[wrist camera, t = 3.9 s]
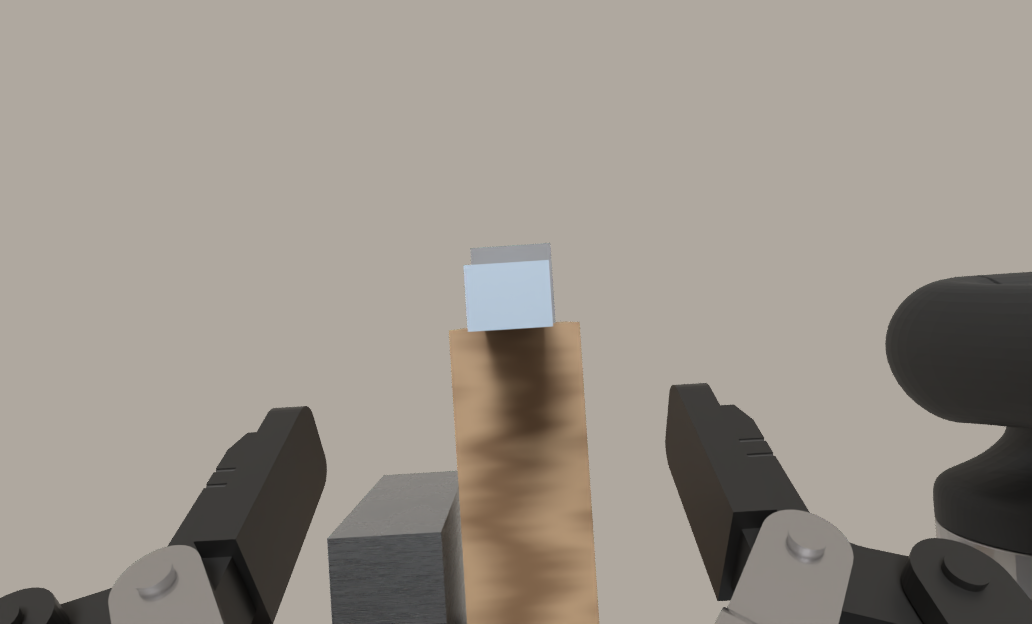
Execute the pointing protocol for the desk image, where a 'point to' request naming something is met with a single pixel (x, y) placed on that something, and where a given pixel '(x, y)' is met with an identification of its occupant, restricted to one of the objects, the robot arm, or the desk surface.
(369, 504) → the tall grey pillar
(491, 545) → the walnut stand
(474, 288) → the block
